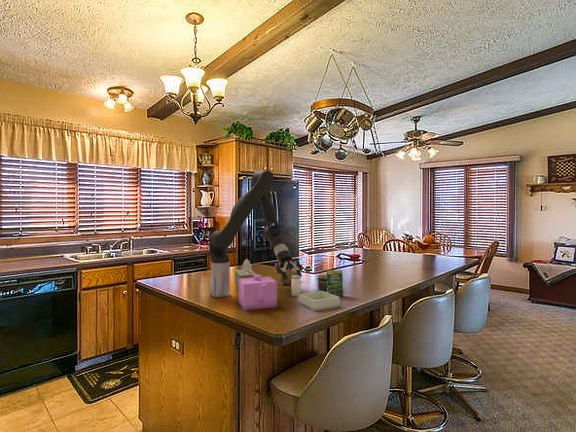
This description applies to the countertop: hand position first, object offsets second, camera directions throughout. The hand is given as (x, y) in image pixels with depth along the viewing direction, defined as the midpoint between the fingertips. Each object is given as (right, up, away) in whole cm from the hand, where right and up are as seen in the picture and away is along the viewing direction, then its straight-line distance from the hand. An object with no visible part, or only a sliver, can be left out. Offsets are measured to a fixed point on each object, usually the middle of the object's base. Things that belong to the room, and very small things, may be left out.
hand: (293, 278), depth 182 cm
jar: (+19, -8, +8) cm, 22 cm away
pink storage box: (-17, -9, -21) cm, 29 cm away
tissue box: (-28, -8, +20) cm, 35 cm away
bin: (+11, -9, -22) cm, 26 cm away
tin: (-2, -8, +27) cm, 28 cm away
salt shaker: (+1, -8, -2) cm, 9 cm away
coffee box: (+21, -9, -5) cm, 23 cm away
